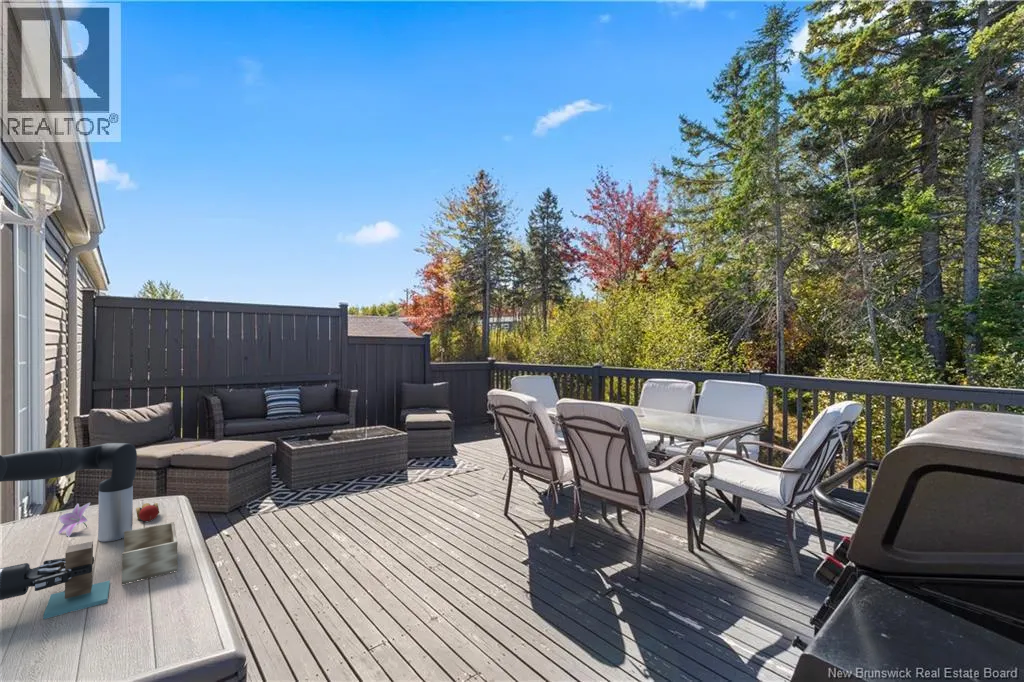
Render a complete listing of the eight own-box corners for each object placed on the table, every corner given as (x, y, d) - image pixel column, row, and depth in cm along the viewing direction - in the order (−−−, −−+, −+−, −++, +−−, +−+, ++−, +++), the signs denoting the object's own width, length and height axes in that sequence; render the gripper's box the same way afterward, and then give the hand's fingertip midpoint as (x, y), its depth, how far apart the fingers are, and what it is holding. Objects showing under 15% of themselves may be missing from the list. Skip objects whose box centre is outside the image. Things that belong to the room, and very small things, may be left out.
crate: (121, 585, 130) (122, 553, 130) (124, 559, 146) (124, 531, 146) (177, 571, 138) (177, 541, 138) (173, 548, 154) (174, 521, 154)
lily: (59, 531, 170) (46, 513, 165) (99, 511, 177) (87, 494, 172) (65, 550, 162) (51, 532, 158) (106, 528, 170) (93, 511, 165)
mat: (43, 619, 114) (43, 615, 114) (50, 598, 124) (50, 594, 124) (107, 602, 122) (107, 598, 122) (109, 583, 131) (109, 580, 131)
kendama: (131, 516, 185) (134, 523, 172) (135, 500, 187) (138, 505, 174) (155, 515, 190) (159, 521, 177) (158, 499, 192) (163, 504, 179)
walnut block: (64, 598, 119) (65, 552, 119) (67, 590, 123) (67, 546, 123) (90, 592, 122) (91, 547, 122) (92, 584, 126) (93, 541, 126)
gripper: (-7, 580, 108) (90, 560, 119) (7, 558, 119) (95, 541, 130) (-8, 612, 108) (90, 588, 119) (6, 587, 119) (94, 567, 130)
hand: (92, 564), depth 124 cm, fingers closed on walnut block, 5 cm apart
